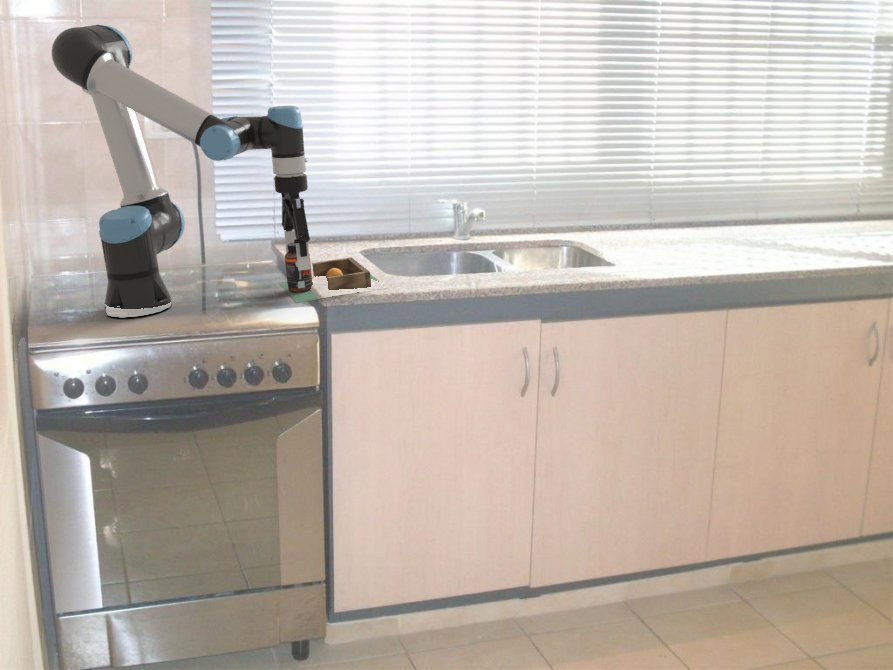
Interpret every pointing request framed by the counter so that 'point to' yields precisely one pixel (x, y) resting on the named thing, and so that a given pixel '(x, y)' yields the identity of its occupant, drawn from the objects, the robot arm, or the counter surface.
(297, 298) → the pitch mat
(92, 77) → the robot arm
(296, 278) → the supplement bottle
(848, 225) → the counter surface
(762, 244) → the counter surface
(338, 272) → the ball
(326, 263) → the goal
